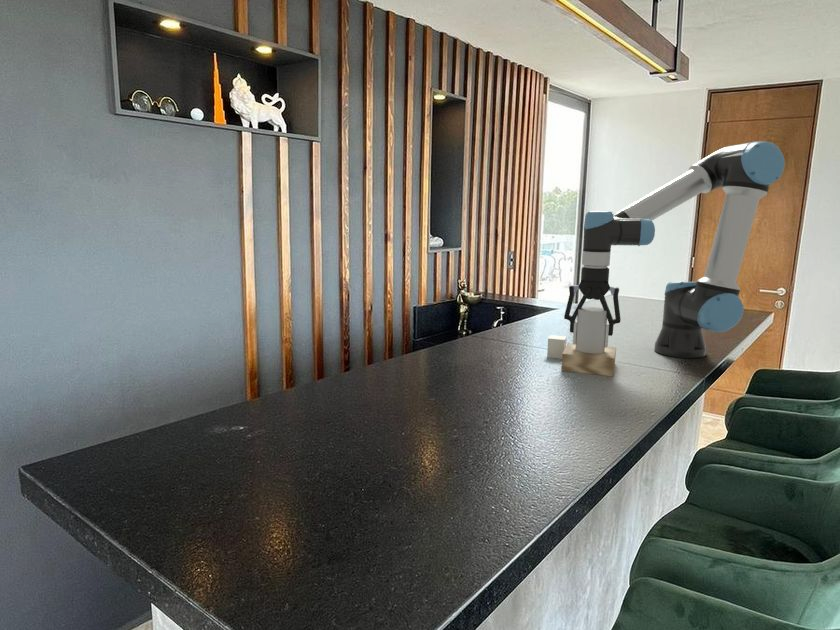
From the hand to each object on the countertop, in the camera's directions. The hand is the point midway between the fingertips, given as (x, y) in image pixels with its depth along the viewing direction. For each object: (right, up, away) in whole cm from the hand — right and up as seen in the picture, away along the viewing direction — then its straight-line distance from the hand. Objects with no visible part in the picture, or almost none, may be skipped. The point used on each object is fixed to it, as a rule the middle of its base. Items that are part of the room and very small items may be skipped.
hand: (590, 344), depth 168 cm
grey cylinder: (0, -2, 0) cm, 2 cm away
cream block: (-7, -4, +14) cm, 16 cm away
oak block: (0, -7, +1) cm, 7 cm away
